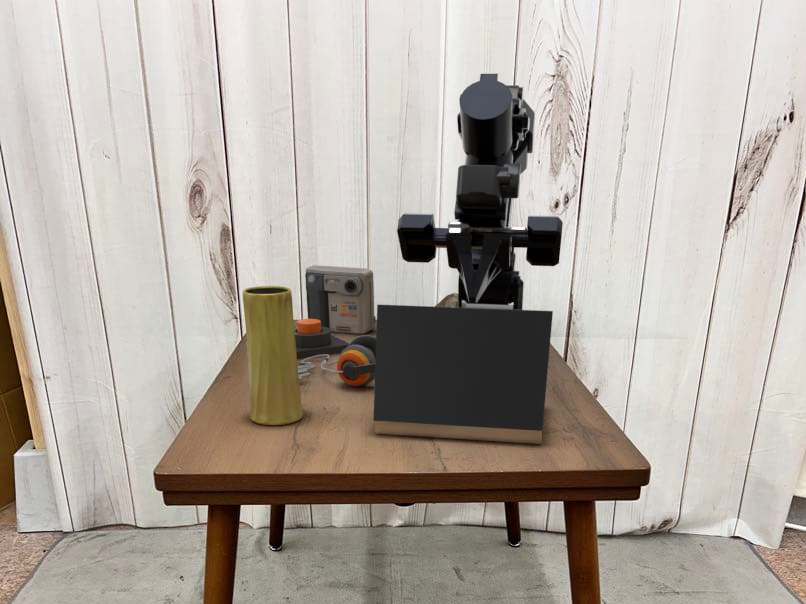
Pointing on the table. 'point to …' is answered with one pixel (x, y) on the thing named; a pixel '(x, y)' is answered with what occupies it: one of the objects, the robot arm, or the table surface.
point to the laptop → (458, 432)
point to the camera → (341, 298)
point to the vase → (272, 355)
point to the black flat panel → (462, 366)
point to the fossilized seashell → (449, 301)
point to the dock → (318, 343)
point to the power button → (308, 326)
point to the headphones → (351, 362)
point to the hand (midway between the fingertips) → (472, 301)
